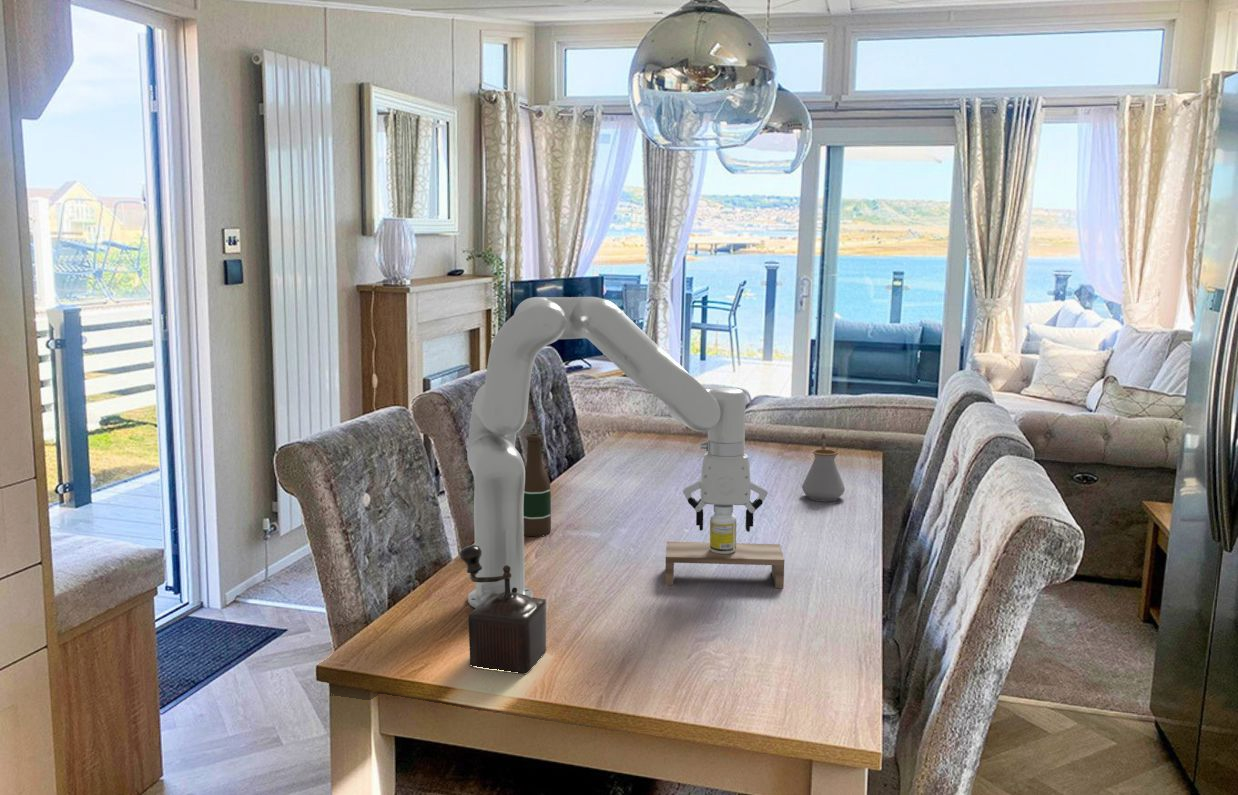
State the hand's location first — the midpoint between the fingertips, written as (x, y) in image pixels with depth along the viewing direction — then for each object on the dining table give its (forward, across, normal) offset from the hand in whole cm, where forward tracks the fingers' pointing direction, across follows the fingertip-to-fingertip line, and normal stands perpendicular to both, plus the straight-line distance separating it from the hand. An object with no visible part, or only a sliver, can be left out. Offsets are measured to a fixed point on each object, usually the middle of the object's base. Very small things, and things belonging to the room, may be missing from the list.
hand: (724, 529), depth 202 cm
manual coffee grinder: (+11, -40, -41) cm, 58 cm away
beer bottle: (+11, -44, +28) cm, 53 cm away
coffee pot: (+11, +30, +70) cm, 77 cm away
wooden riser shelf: (+11, 0, 0) cm, 11 cm away
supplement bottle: (+5, 0, 0) cm, 5 cm away
